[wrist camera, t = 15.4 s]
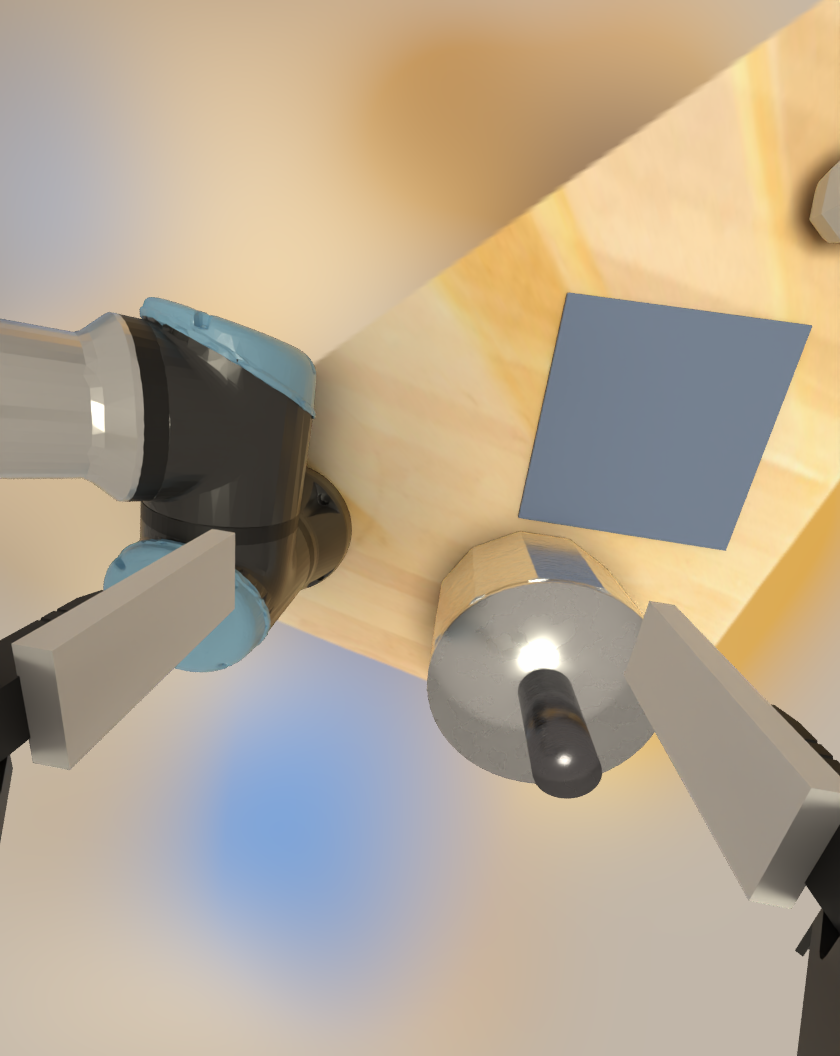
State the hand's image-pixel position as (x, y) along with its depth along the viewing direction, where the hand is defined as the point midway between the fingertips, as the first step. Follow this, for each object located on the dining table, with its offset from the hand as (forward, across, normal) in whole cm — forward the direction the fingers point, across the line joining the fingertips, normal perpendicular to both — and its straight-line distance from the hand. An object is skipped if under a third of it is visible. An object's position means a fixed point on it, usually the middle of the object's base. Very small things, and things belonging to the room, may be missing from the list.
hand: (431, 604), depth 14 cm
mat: (+37, +20, +5) cm, 42 cm away
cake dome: (+37, +12, -19) cm, 43 cm away
